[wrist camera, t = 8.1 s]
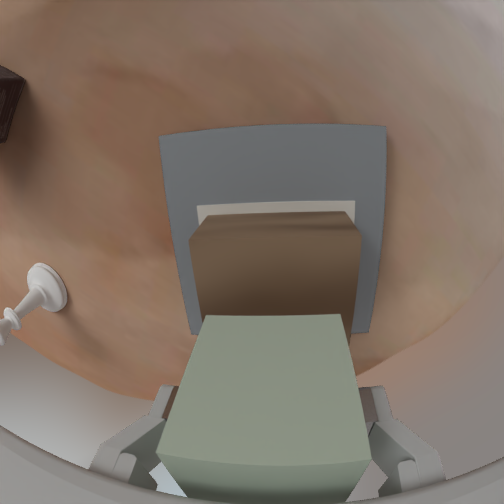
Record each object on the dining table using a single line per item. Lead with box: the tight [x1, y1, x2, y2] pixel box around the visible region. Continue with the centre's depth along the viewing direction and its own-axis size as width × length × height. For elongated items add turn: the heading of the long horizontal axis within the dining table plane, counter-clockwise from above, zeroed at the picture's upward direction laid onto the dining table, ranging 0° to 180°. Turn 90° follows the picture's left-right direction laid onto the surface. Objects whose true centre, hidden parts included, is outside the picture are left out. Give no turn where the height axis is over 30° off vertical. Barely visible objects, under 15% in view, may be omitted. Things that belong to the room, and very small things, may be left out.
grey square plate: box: [159, 124, 387, 335], centre depth 18 cm, size 14×13×1 cm
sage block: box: [156, 314, 372, 504], centre depth 9 cm, size 5×5×6 cm
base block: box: [188, 211, 362, 346], centre depth 17 cm, size 8×8×4 cm
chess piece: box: [0, 263, 67, 346], centre depth 18 cm, size 5×5×10 cm
